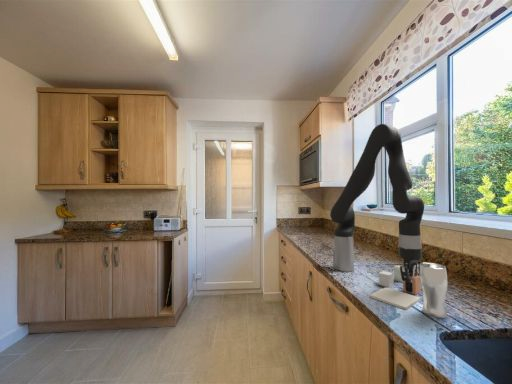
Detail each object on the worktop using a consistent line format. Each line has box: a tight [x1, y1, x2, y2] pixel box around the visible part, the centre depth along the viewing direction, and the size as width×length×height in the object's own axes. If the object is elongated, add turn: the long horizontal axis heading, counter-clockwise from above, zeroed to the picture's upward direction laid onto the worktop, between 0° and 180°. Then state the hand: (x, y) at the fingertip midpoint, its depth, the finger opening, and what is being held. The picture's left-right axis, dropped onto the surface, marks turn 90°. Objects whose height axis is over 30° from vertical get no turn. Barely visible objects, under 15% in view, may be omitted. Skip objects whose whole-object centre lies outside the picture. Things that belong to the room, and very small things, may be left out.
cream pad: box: [369, 286, 422, 311], centre depth 82 cm, size 12×12×1 cm
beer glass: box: [420, 262, 448, 319], centre depth 71 cm, size 7×7×15 cm
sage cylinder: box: [393, 265, 403, 283], centre depth 100 cm, size 4×4×6 cm
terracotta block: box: [402, 275, 422, 295], centre depth 88 cm, size 4×4×6 cm
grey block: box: [378, 270, 395, 288], centre depth 95 cm, size 4×4×5 cm
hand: (411, 289), depth 88 cm, fingers closed on terracotta block, 4 cm apart
